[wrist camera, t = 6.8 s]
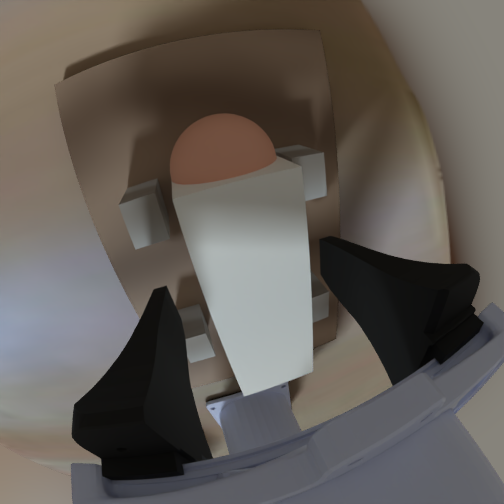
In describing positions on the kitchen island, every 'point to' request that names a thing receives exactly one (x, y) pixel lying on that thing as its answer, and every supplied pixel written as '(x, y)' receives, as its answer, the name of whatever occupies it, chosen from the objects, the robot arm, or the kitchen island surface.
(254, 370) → the white pillar with dome
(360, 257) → the robot arm
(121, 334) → the kitchen island surface
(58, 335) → the kitchen island surface
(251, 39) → the jig
